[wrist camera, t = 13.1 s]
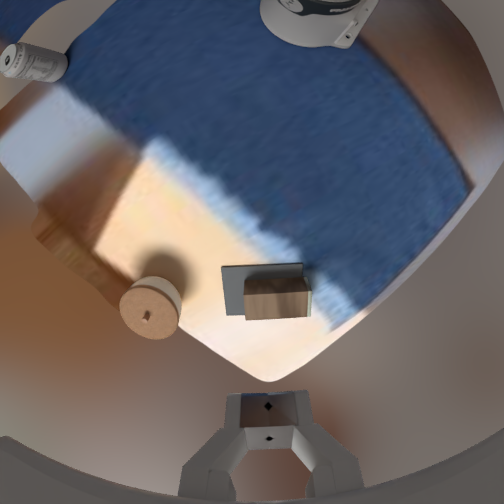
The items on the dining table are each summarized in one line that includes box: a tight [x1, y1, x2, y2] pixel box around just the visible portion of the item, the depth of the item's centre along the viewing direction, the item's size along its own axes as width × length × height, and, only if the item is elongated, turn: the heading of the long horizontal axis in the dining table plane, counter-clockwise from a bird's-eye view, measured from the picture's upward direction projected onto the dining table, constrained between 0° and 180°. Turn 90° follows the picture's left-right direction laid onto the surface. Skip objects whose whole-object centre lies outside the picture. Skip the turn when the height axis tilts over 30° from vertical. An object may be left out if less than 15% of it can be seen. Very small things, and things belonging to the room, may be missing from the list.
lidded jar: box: [120, 276, 182, 339], centre depth 46 cm, size 11×11×9 cm
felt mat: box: [221, 263, 303, 316], centre depth 50 cm, size 14×10×1 cm
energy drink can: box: [0, 42, 68, 82], centre depth 26 cm, size 6×6×15 cm
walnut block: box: [243, 277, 312, 320], centre depth 47 cm, size 5×5×11 cm
